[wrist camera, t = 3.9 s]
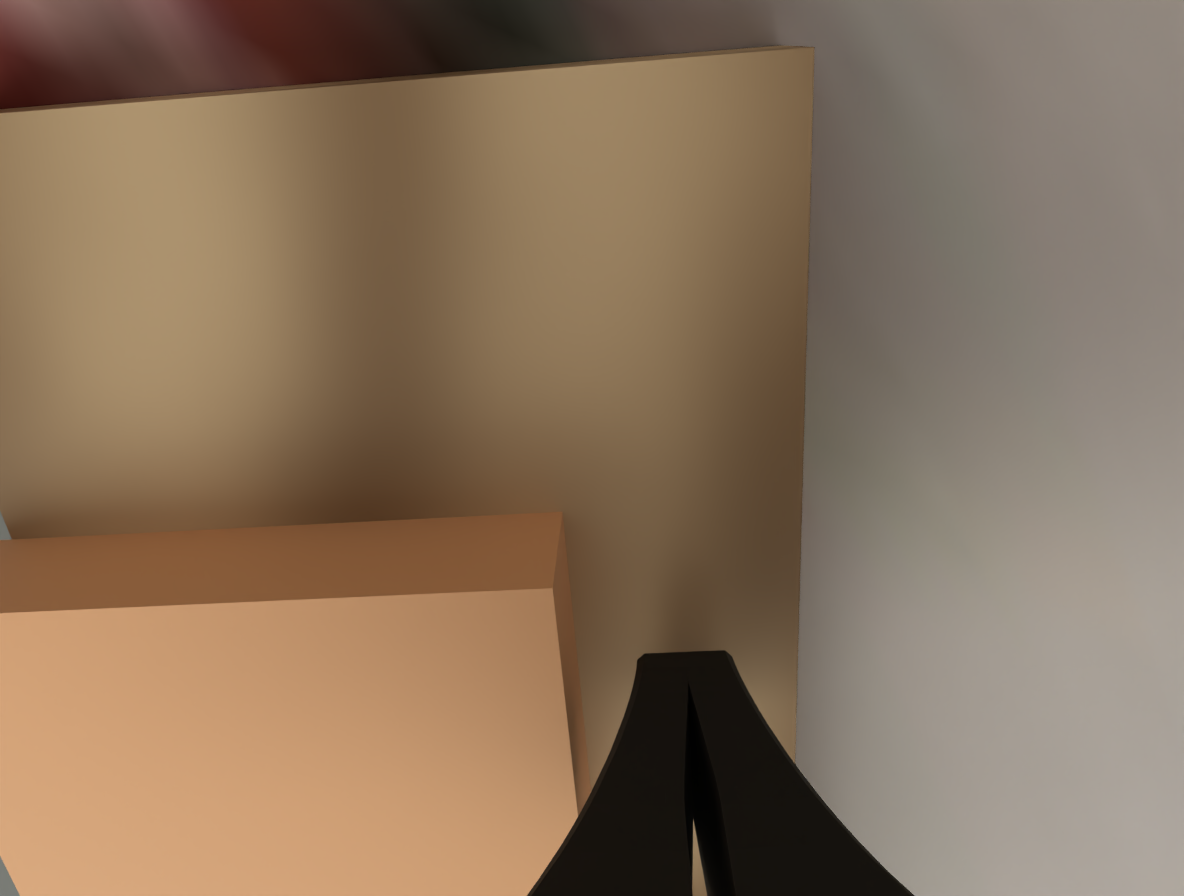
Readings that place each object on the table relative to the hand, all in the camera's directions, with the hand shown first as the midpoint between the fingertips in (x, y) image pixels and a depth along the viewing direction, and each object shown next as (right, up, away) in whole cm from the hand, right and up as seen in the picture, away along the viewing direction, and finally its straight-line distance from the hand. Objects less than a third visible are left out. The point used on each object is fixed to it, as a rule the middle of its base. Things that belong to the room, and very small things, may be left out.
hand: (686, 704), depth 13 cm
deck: (-4, -1, +4) cm, 6 cm away
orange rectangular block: (-6, 0, +1) cm, 6 cm away
